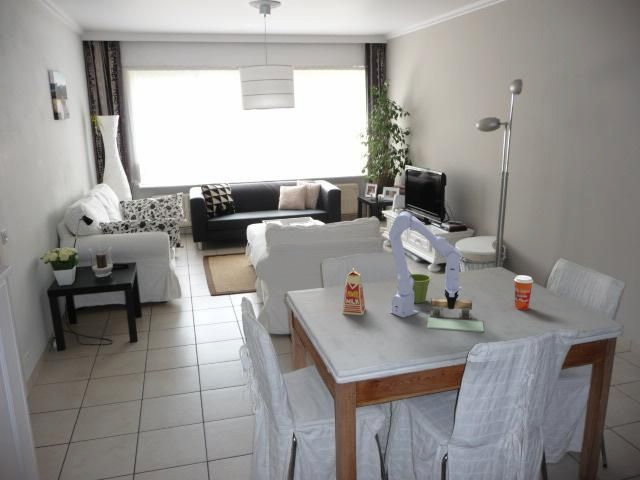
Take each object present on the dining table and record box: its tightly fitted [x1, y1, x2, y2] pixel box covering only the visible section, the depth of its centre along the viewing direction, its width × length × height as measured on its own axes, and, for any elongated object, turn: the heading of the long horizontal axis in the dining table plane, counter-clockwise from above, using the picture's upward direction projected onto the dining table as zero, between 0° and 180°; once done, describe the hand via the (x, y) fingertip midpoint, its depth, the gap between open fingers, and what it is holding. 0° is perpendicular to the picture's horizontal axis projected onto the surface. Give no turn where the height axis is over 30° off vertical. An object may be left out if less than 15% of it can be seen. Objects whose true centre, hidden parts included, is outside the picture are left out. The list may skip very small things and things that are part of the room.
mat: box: [426, 317, 485, 333], centre depth 217 cm, size 22×10×1 cm, turn 77°
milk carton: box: [341, 267, 366, 316], centre depth 233 cm, size 9×9×20 cm
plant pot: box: [410, 273, 432, 304], centre depth 245 cm, size 12×12×11 cm
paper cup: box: [513, 274, 534, 311], centre depth 233 cm, size 8×8×14 cm
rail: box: [430, 297, 473, 311], centre depth 226 cm, size 17×3×3 cm, turn 77°
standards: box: [429, 305, 472, 320], centre depth 227 cm, size 17×5×5 cm, turn 77°
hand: (450, 307), depth 226 cm, fingers closed on rail, 3 cm apart
